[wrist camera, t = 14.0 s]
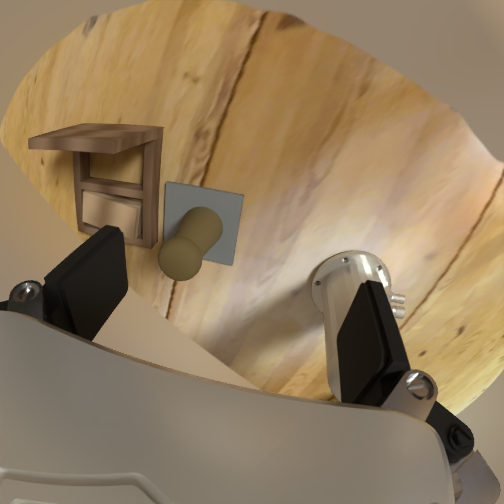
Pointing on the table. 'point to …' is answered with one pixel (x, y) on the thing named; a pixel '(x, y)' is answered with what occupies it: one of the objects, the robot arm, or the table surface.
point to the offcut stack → (114, 212)
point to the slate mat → (221, 202)
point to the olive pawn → (190, 243)
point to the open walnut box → (110, 142)
